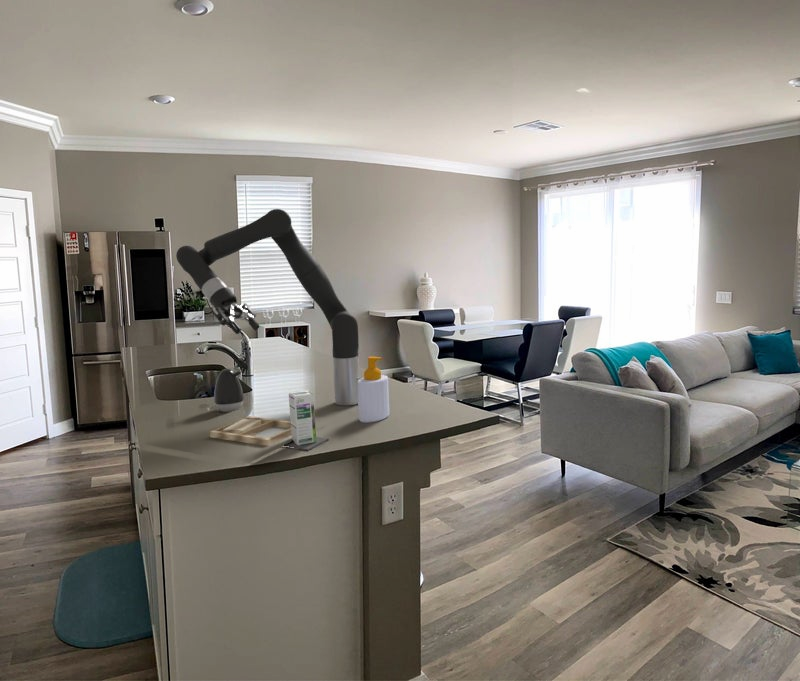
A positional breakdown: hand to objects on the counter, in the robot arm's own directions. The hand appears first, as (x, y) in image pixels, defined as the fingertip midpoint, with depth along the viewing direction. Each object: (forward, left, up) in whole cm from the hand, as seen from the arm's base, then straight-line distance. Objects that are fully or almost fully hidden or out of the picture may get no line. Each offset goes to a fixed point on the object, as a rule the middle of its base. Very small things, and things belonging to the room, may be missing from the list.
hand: (248, 330), depth 185 cm
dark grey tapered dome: (+11, -19, -31) cm, 38 cm away
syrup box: (-17, +25, -30) cm, 43 cm away
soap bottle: (-39, +3, -31) cm, 50 cm away
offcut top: (+2, +13, -29) cm, 32 cm away
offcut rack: (-3, +15, -31) cm, 34 cm away
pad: (-17, +25, -31) cm, 43 cm away
